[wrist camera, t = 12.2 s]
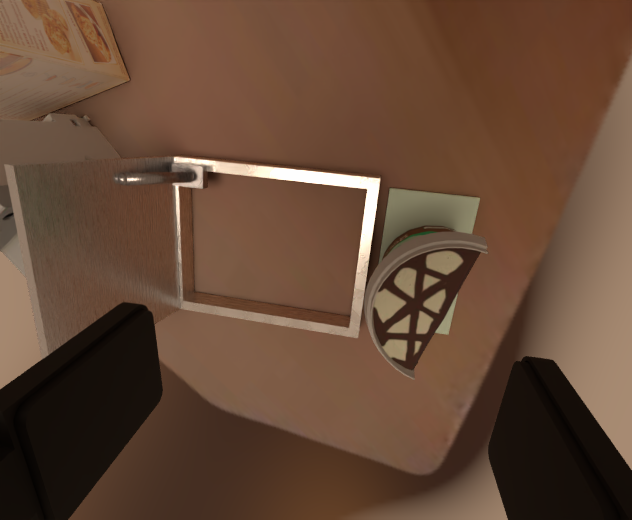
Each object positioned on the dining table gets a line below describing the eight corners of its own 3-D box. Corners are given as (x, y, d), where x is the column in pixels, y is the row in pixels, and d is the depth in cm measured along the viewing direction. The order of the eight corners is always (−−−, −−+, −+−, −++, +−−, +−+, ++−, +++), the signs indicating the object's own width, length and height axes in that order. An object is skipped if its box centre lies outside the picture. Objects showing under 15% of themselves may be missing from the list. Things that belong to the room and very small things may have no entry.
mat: (389, 187, 35) (390, 188, 34) (478, 197, 34) (480, 198, 33) (370, 319, 39) (369, 322, 39) (447, 331, 38) (448, 334, 38)
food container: (399, 189, 34) (405, 210, 25) (462, 215, 34) (492, 245, 24) (349, 300, 38) (338, 354, 29) (404, 323, 38) (411, 385, 29)
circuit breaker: (134, 264, 42) (11, 328, 28) (46, 160, 40) (-135, 174, 26) (178, 228, 40) (66, 278, 26) (87, 115, 38) (-89, 104, 24)
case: (157, 152, 37) (1, 164, 22) (380, 175, 34) (377, 208, 19) (165, 295, 43) (44, 383, 28) (359, 326, 40) (343, 445, 25)
